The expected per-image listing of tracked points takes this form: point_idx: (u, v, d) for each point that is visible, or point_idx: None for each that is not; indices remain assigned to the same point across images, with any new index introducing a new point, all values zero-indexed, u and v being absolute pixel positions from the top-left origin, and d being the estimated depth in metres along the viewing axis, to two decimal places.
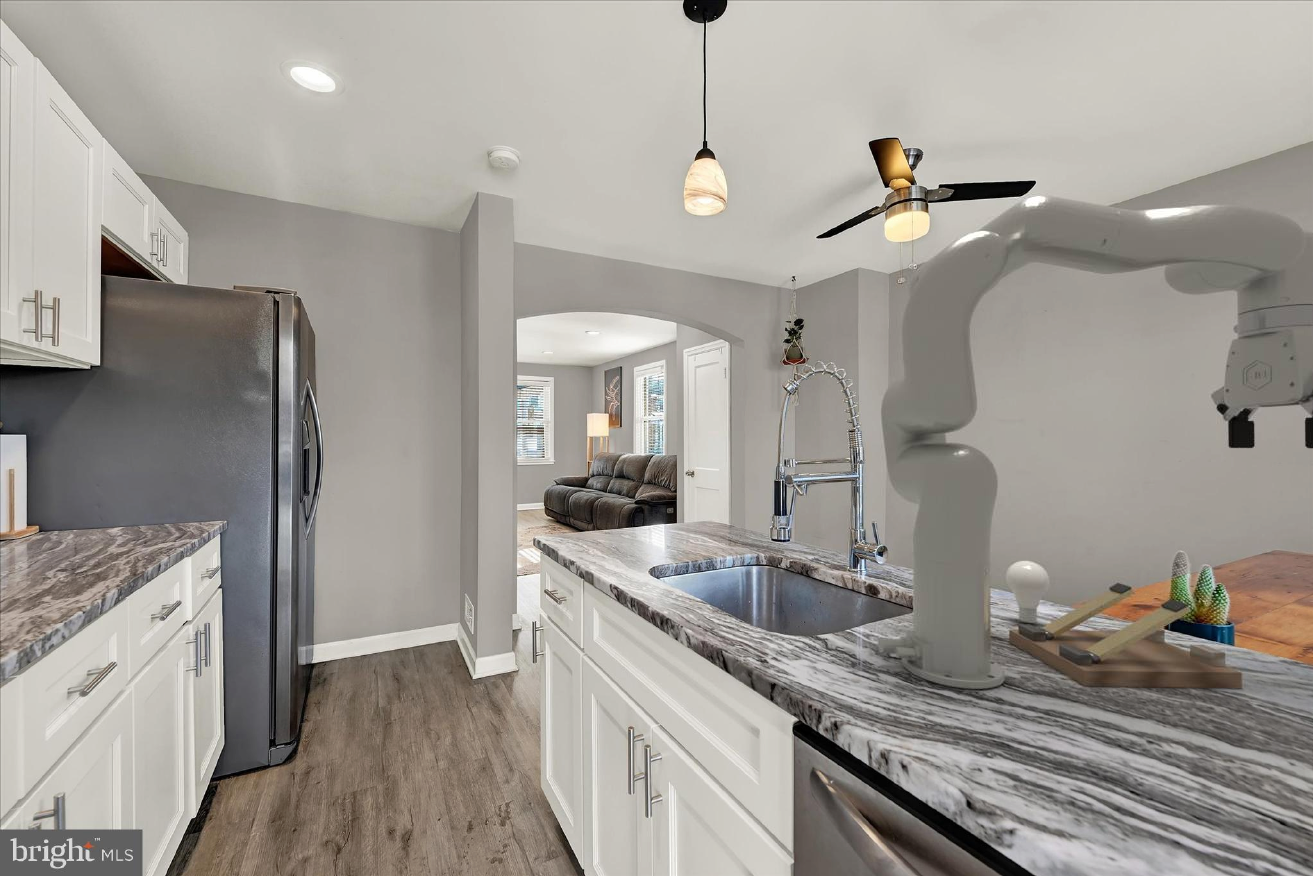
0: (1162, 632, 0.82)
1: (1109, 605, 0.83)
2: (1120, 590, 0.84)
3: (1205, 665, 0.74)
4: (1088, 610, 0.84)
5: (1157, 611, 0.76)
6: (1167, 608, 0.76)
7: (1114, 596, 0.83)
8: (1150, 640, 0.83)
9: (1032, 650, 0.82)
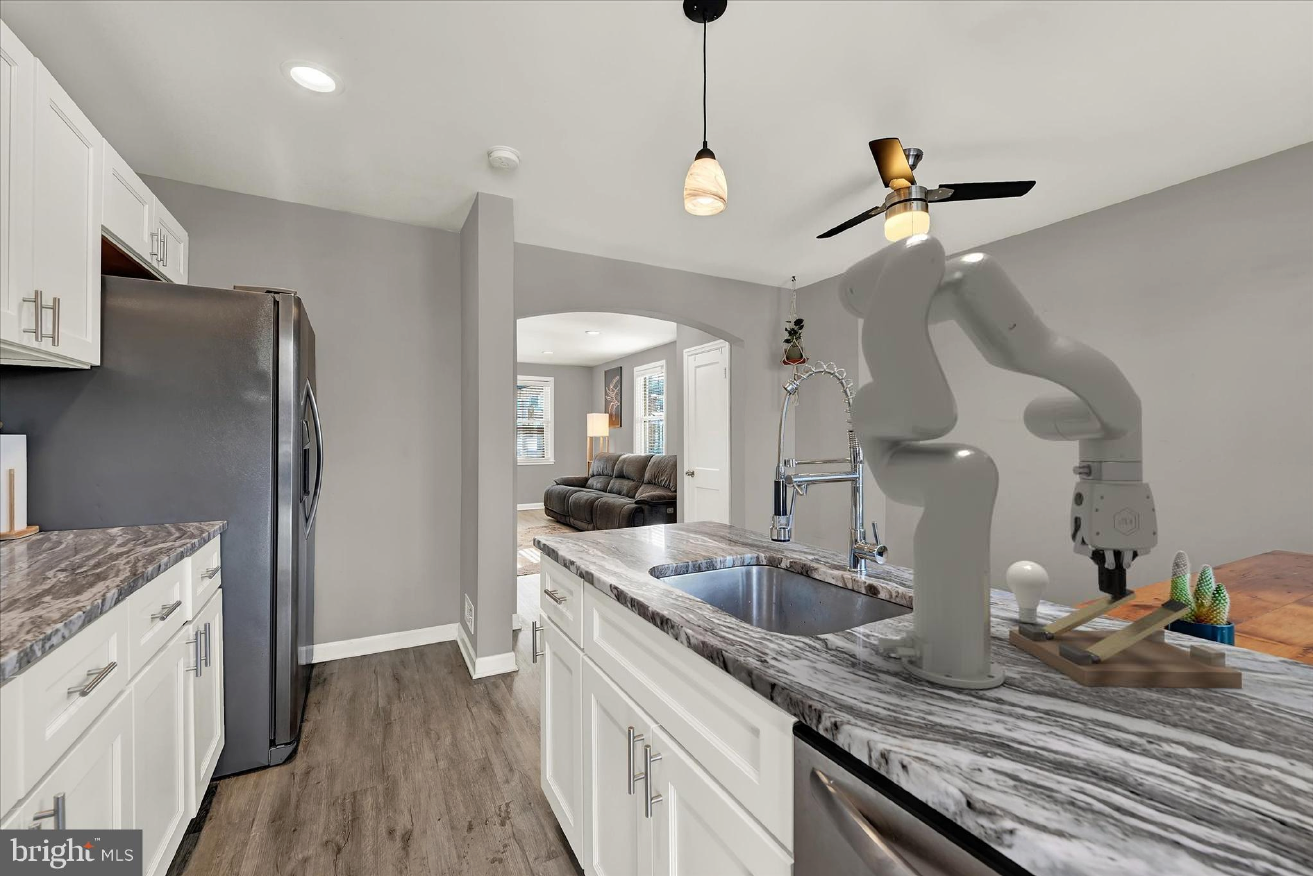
0: (1162, 632, 0.82)
1: (1111, 608, 0.83)
2: None
3: (1205, 665, 0.74)
4: (1089, 612, 0.84)
5: (1157, 611, 0.76)
6: (1167, 608, 0.76)
7: (1116, 599, 0.83)
8: (1150, 640, 0.83)
9: (1032, 650, 0.82)
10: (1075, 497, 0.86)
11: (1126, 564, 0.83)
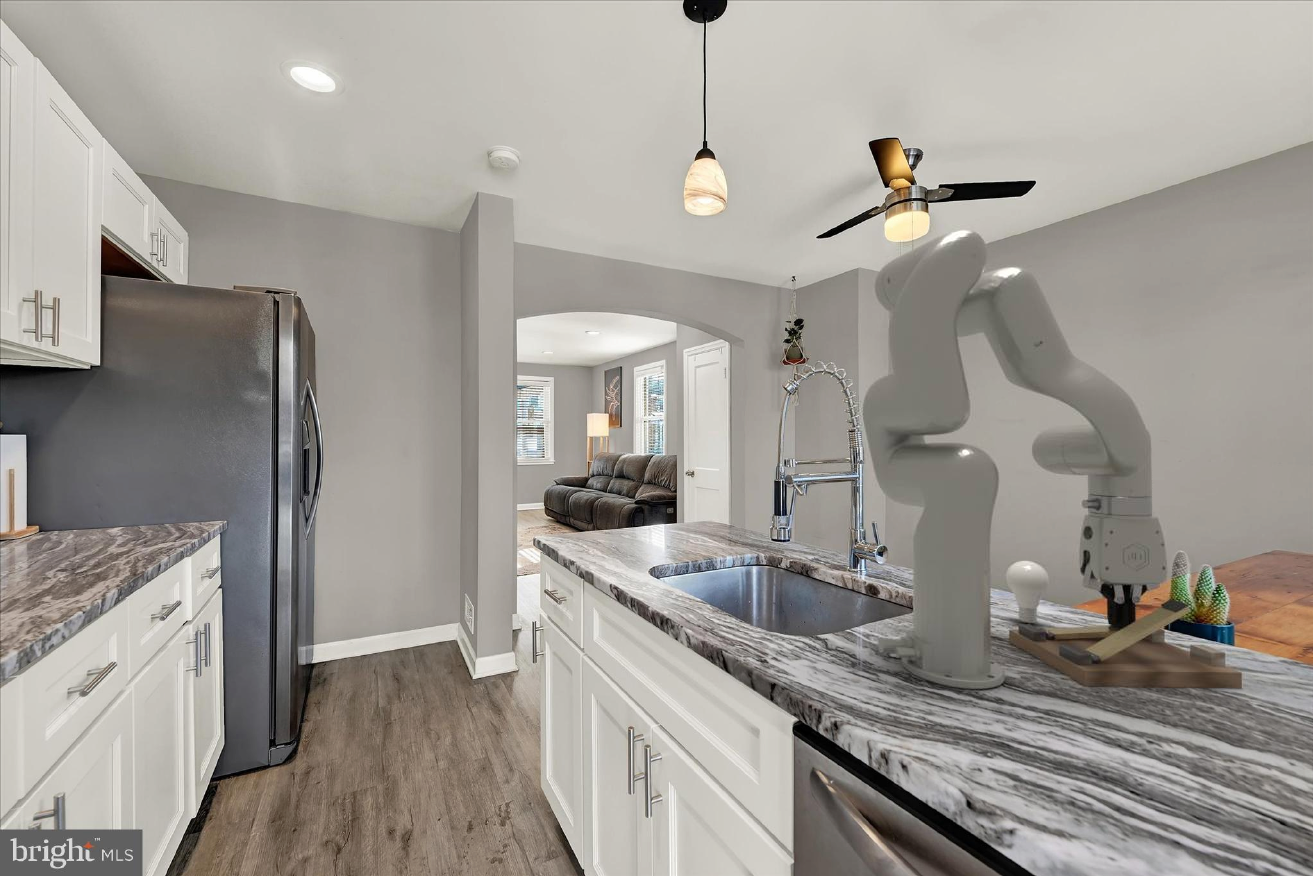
0: (1162, 632, 0.82)
1: None
2: None
3: (1205, 665, 0.74)
4: (1097, 630, 0.84)
5: (1157, 611, 0.76)
6: (1167, 608, 0.76)
7: None
8: (1150, 640, 0.83)
9: (1032, 650, 0.82)
10: (1084, 530, 0.86)
11: (1135, 598, 0.83)
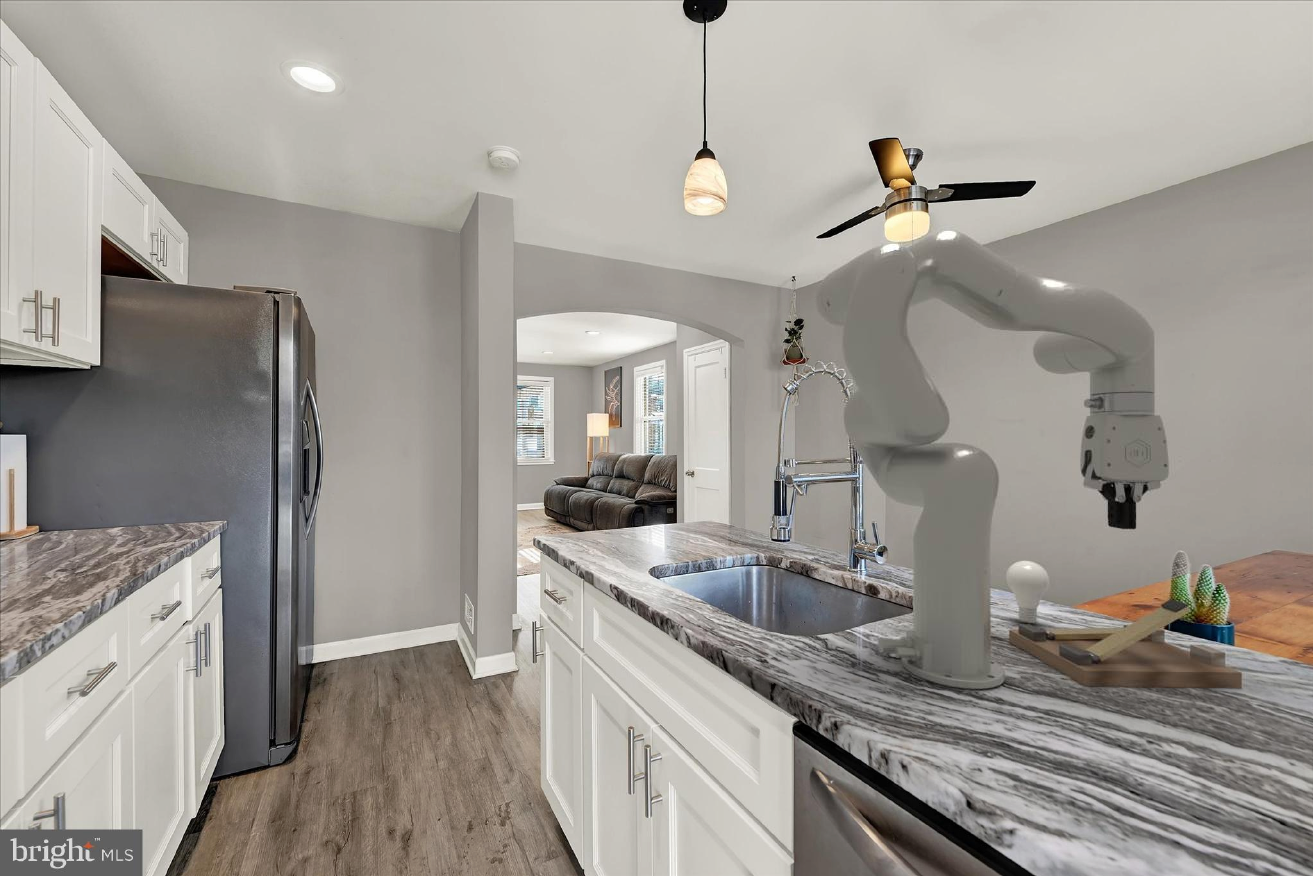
0: (1162, 632, 0.82)
1: None
2: None
3: (1205, 665, 0.74)
4: (1097, 632, 0.84)
5: (1157, 611, 0.76)
6: (1167, 608, 0.76)
7: None
8: (1150, 640, 0.83)
9: (1032, 650, 0.82)
10: (1086, 431, 0.85)
11: (1136, 497, 0.82)
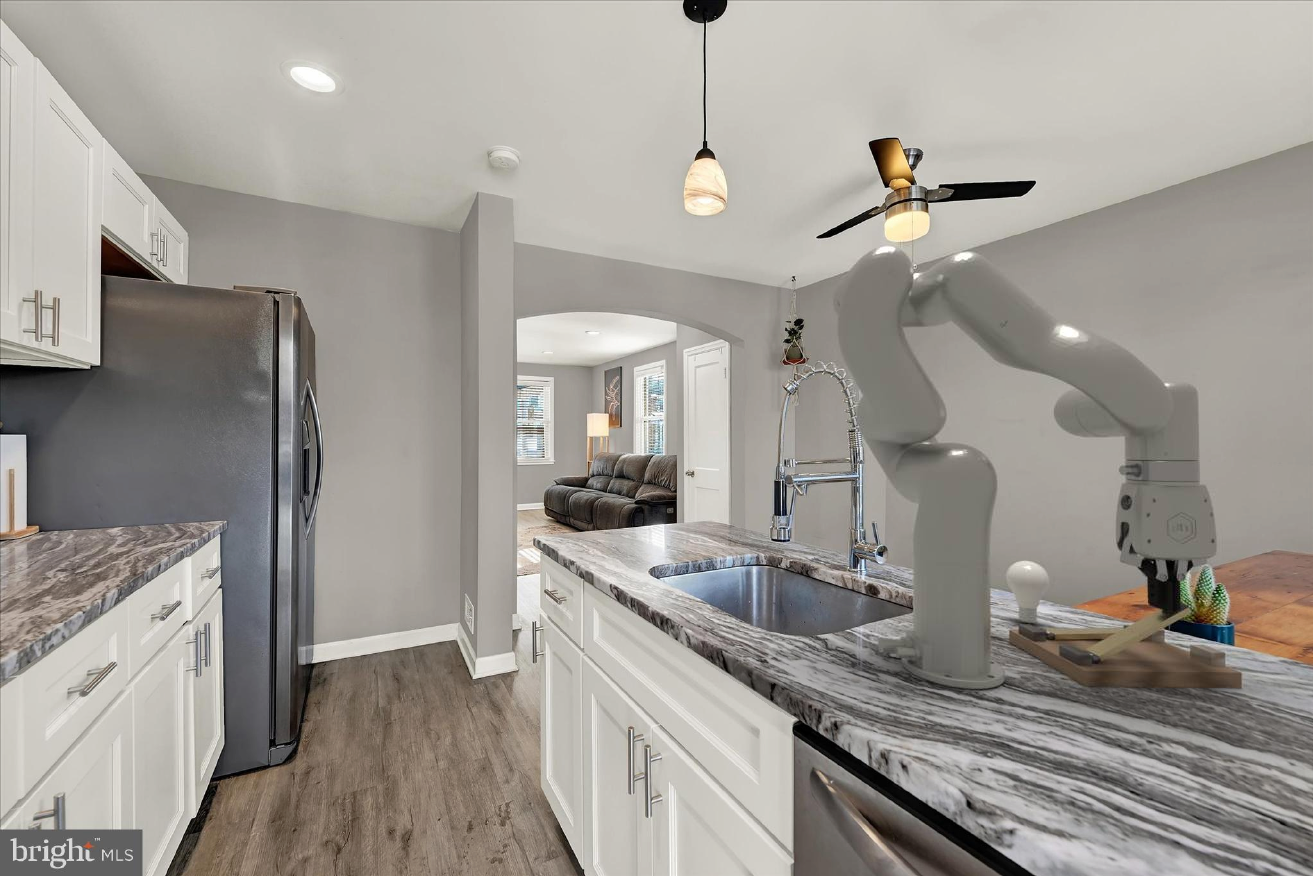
0: (1162, 632, 0.82)
1: None
2: None
3: (1205, 665, 0.74)
4: (1097, 632, 0.84)
5: (1158, 612, 0.76)
6: None
7: None
8: (1150, 640, 0.83)
9: (1032, 650, 0.82)
10: (1121, 500, 0.77)
11: (1180, 575, 0.74)
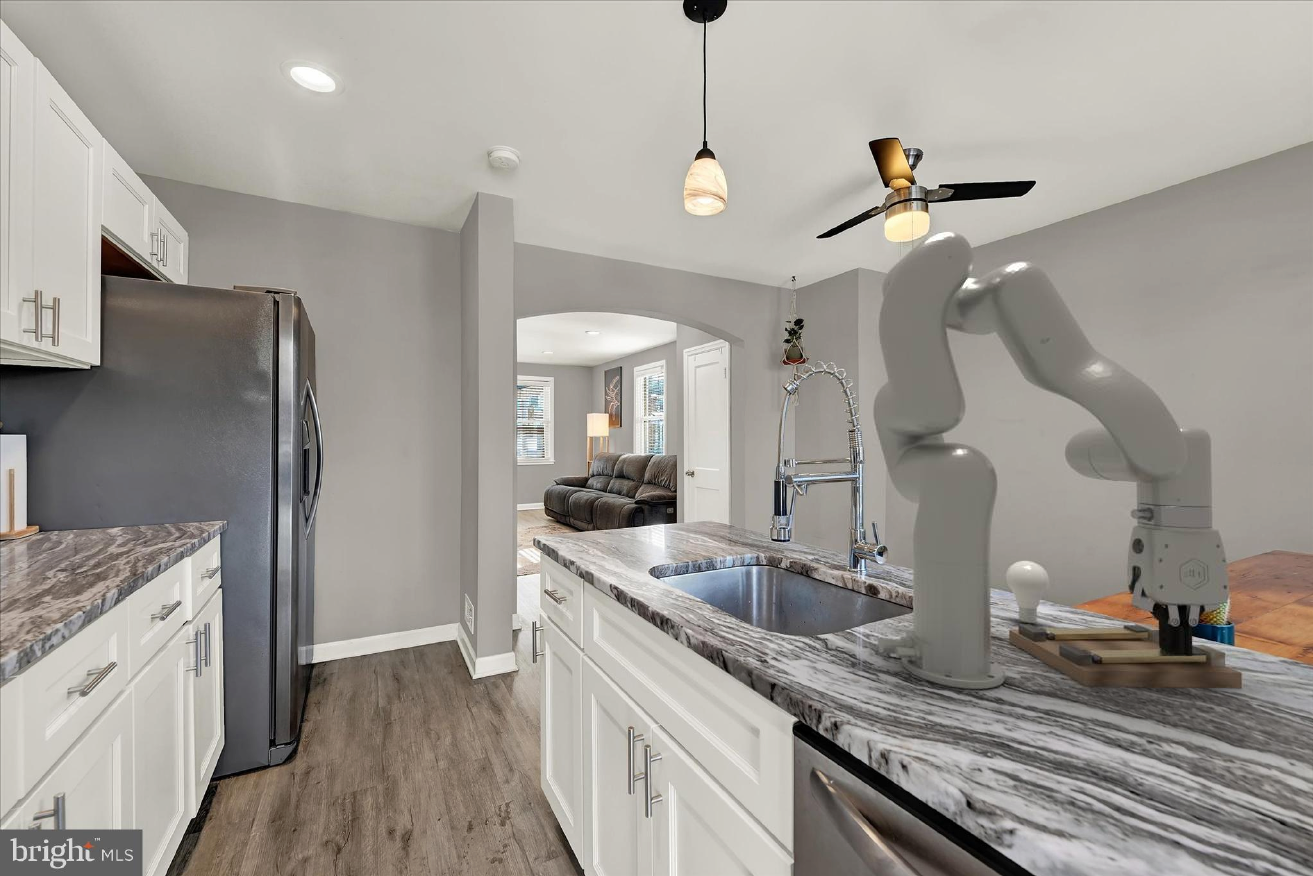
0: None
1: (1119, 636, 0.83)
2: (1135, 629, 0.83)
3: (1205, 665, 0.74)
4: (1097, 632, 0.84)
5: None
6: None
7: (1127, 631, 0.83)
8: (1150, 640, 0.83)
9: (1032, 650, 0.82)
10: (1133, 543, 0.76)
11: (1192, 621, 0.74)
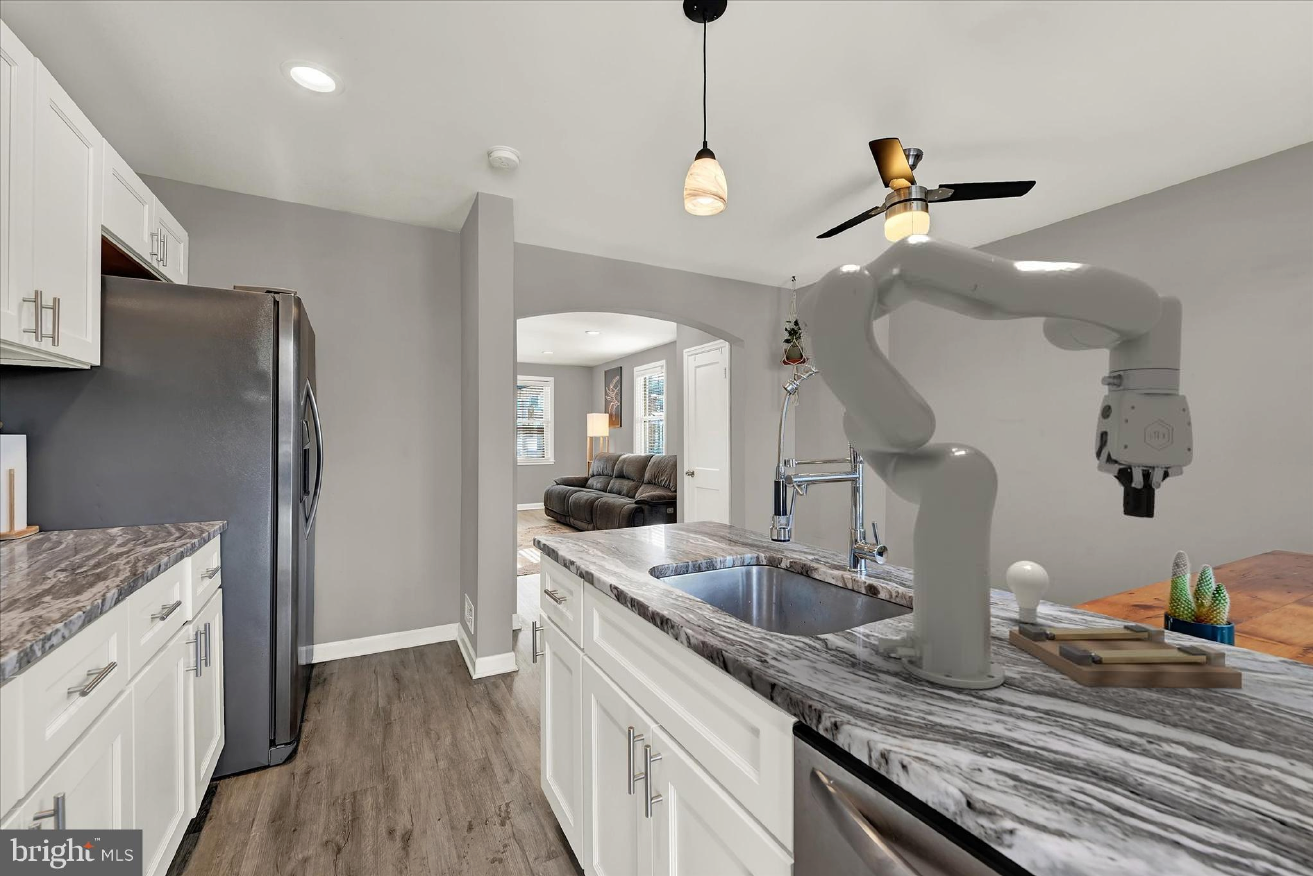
0: (1162, 632, 0.82)
1: (1119, 636, 0.83)
2: (1135, 629, 0.83)
3: (1205, 665, 0.74)
4: (1097, 632, 0.84)
5: (1172, 650, 0.76)
6: (1182, 651, 0.75)
7: (1127, 631, 0.83)
8: (1150, 640, 0.83)
9: (1032, 650, 0.82)
10: (1102, 411, 0.79)
11: (1155, 484, 0.76)
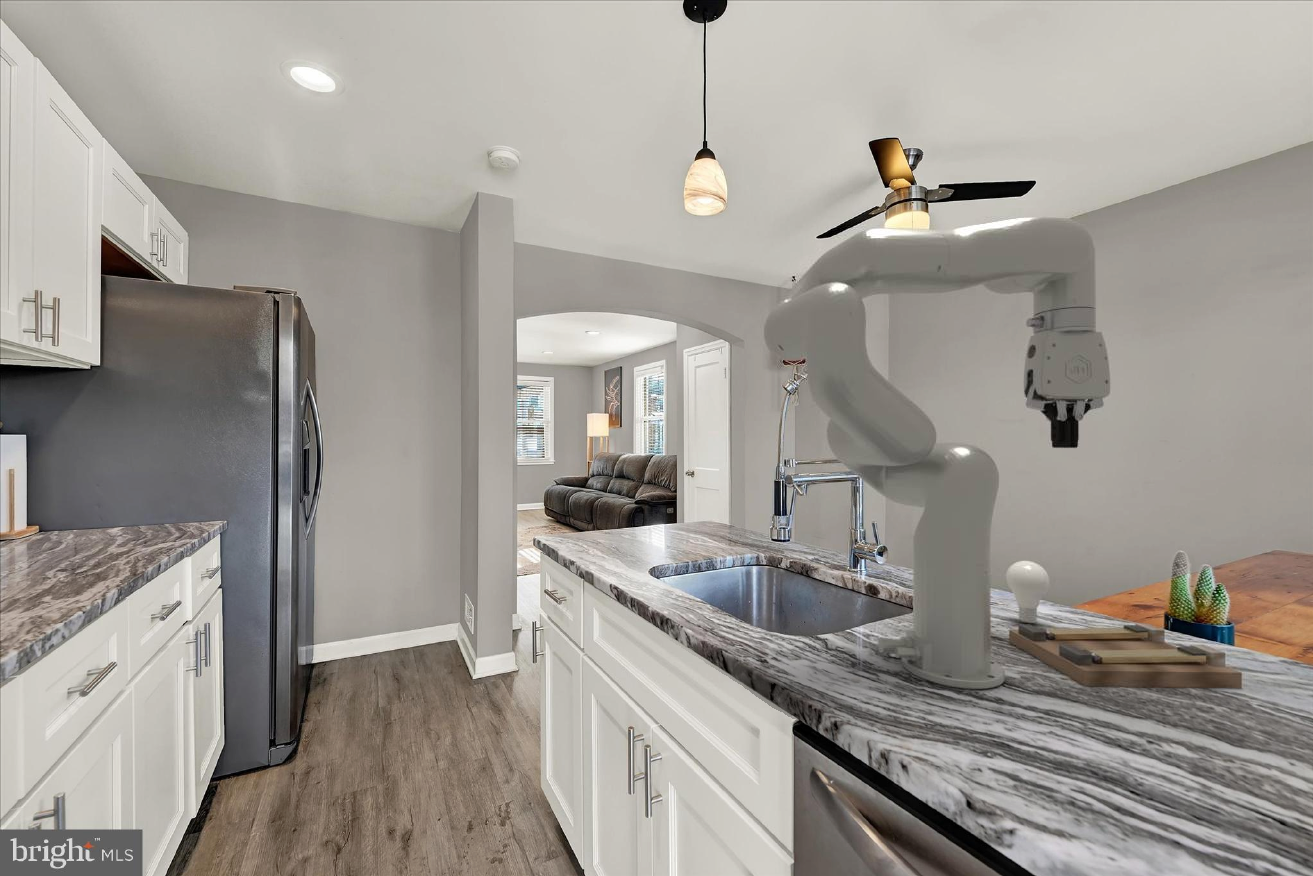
0: (1162, 632, 0.82)
1: (1119, 636, 0.83)
2: (1135, 629, 0.83)
3: (1205, 665, 0.74)
4: (1097, 632, 0.84)
5: (1172, 650, 0.76)
6: (1182, 651, 0.75)
7: (1127, 631, 0.83)
8: (1150, 640, 0.83)
9: (1032, 650, 0.82)
10: (1028, 351, 0.84)
11: (1078, 416, 0.81)
